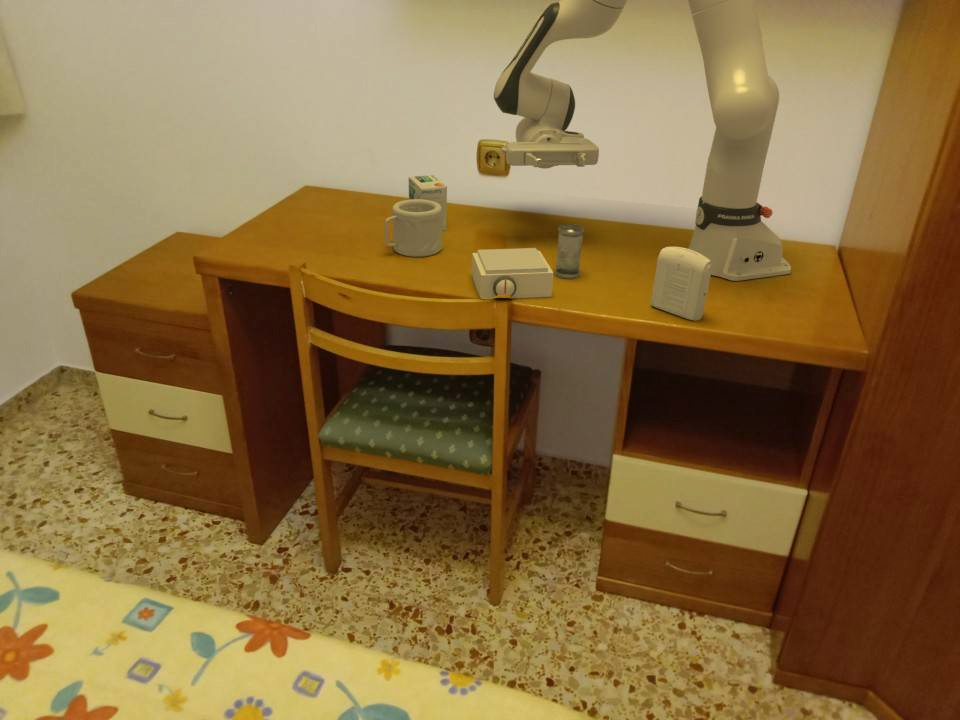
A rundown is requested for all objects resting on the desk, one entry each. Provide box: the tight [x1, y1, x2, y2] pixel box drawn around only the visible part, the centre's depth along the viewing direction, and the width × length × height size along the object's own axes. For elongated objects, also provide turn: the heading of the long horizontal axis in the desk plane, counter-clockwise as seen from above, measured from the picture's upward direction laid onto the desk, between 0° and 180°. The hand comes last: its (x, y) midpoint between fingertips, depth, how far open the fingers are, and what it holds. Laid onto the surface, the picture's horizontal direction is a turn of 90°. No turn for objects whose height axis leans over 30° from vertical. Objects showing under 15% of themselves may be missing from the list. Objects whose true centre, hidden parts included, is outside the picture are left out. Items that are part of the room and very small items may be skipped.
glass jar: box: [554, 223, 585, 280], centre depth 154 cm, size 5×5×10 cm
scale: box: [471, 247, 555, 299], centre depth 148 cm, size 14×13×6 cm
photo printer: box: [650, 246, 712, 322], centre depth 139 cm, size 10×4×12 cm, turn 47°
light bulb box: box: [408, 174, 448, 232], centre depth 180 cm, size 11×7×11 cm, turn 21°
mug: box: [384, 199, 443, 258], centre depth 164 cm, size 14×11×10 cm
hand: (560, 163), depth 157 cm, fingers open, 8 cm apart
